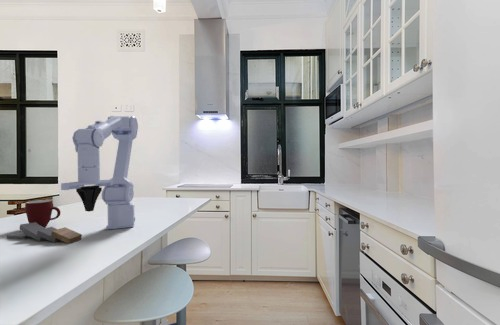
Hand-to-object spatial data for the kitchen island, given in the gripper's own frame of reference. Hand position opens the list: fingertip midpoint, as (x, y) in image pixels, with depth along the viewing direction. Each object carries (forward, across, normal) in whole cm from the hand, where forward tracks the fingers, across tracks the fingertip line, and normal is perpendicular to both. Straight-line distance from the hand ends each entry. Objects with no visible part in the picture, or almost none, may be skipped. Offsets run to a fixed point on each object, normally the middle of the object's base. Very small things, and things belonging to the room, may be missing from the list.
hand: (89, 210), depth 77 cm
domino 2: (+9, +4, -22) cm, 24 cm away
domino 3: (+9, +4, -16) cm, 19 cm away
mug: (+10, -4, -36) cm, 37 cm away
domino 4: (+9, +3, -10) cm, 14 cm away
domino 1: (+10, +6, -24) cm, 26 cm away
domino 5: (+9, +1, -5) cm, 11 cm away
